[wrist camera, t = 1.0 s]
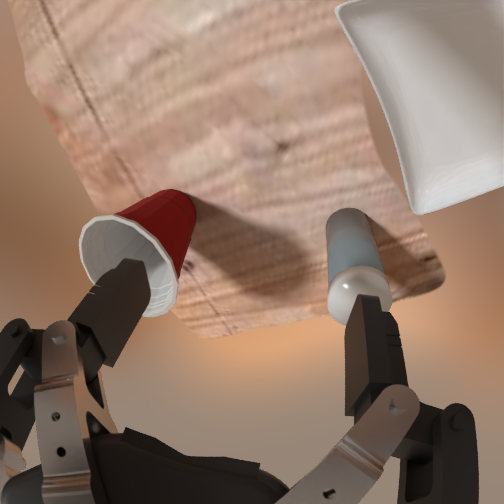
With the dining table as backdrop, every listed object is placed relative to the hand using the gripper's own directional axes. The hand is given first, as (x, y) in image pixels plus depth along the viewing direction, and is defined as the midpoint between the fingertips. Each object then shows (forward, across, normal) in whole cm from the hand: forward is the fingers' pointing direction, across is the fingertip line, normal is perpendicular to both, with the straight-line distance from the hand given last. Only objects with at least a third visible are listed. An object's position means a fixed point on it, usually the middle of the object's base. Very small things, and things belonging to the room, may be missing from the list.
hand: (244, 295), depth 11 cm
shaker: (+21, -7, +8) cm, 23 cm away
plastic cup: (+21, +13, +8) cm, 26 cm away
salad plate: (+21, -17, -10) cm, 29 cm away
